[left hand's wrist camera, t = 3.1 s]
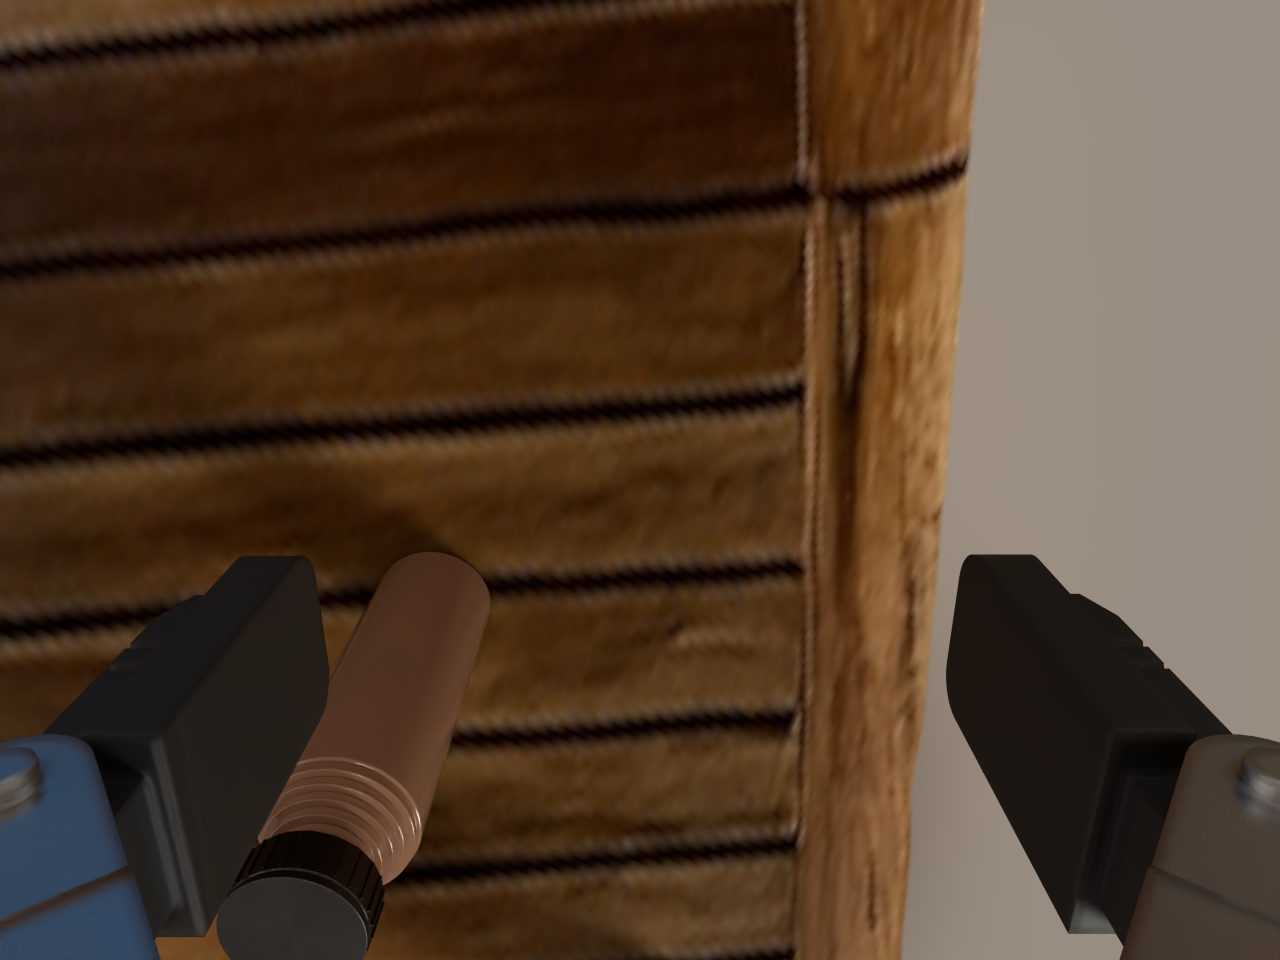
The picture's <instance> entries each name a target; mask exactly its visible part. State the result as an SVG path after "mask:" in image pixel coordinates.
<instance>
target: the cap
mask: <svg viewBox="0 0 1280 960" xmlns="http://www.w3.org/2000/svg"><path fill="white" fill-rule="evenodd" d="M384 893H385V889H384V887H383V881H382V875H380V873H379V871H378V869H377V867H376V865H375V863H374V862H373V861H372V860H371V859H370V858H369V857H368V856H367V855H366V854H365V853H364V852H363V851H362V850H361V849H360V848H359V847H358V846H356V845H354V844H352V843H350V842H349V841H347V840H345V839H343V838H341V837H339V836H336V835H332V834H328V833H324V832H318V831H314V830H300V831H298V830H297V831H288V832H284V833H279V834H278V835H275V836H273V837H270V838H268V839H264V840H263V841H262V843H261V844H259V845H258V846H257V847H255V848H252V849H251V851H250V853H249V855H248V857H247V858H246V860H245V862H244V864H243V866H242V868H241V870H240V872H239V873H238V875H237V877H236V879H235V881H234V883H233V885H232V886H231V888H230V890H229V892H228V894H227V896H226V898H225V900H224V901H223V903H222V905H221V907H220V910H219V912H218V916H217V924H216V928H217V935H218V938H219V942H220V944H221V946H222V948H223V950H224V951H225V953H226V954H227V955H228V957H229V958H230V959H231V960H363V958H364V957H365V954H366V952H367V951H368V948H369V945H370V942H371V940H372V939H373V936H374V933H375V930H376V927H377V924H378V921H379V918H380V915H381V912H382V909H383V906H384V902H383V896H384Z"/></svg>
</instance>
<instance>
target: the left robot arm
mask: <svg viewBox="0 0 1280 960" xmlns="http://www.w3.org/2000/svg"><path fill="white" fill-rule="evenodd" d="M946 684H947V693H948V699H949V704H950V707H951V710H952V713H953V716H954V718H955V720H956V722H957V723H958V725H959V727H960V729H961V731H962V733H963V735H964V737H965V739H966V741H967V742H968V744H969V746H970V748H971V750H972V752H973V754H974V756H975V758H976V759H977V761H978V763H979V765H980V767H981V769H982V771H983V773H984V775H985V776H986V778H987V780H988V782H989V784H990V786H991V788H992V790H993V792H994V794H995V796H996V797H997V799H998V801H999V803H1000V805H1001V807H1002V809H1003V811H1004V812H1005V814H1006V816H1007V818H1008V820H1009V822H1010V824H1011V826H1012V828H1013V829H1014V831H1015V833H1016V835H1017V837H1018V839H1019V841H1020V843H1021V845H1022V847H1023V848H1024V850H1025V852H1026V854H1027V856H1028V858H1029V860H1030V862H1031V864H1032V866H1033V867H1034V869H1035V871H1036V873H1037V875H1038V877H1039V879H1040V881H1041V883H1042V885H1043V886H1044V888H1045V890H1046V892H1047V894H1048V896H1049V898H1050V900H1051V901H1052V903H1053V905H1054V907H1055V909H1056V911H1057V913H1058V915H1059V917H1060V919H1061V920H1062V922H1063V924H1064V926H1065V928H1066V930H1067V932H1068V934H1116V935H1117V936H1118V938H1119V940H1120V941H1121V943H1122V945H1123V950H1122V954H1121V957H1120V960H1280V743H1279V742H1275V741H1272V740H1269V739H1264V738H1259V737H1254V736H1247V735H1237V734H1232V733H1231V732H1230V731H1229V730H1228V729H1227V728H1226V727H1225V726H1224V725H1223V724H1222V723H1221V722H1220V721H1219V719H1218V718H1217V717H1216V716H1215V715H1214V714H1213V713H1212V712H1211V711H1210V710H1209V709H1208V708H1207V707H1206V706H1205V705H1204V704H1203V703H1202V702H1201V701H1200V700H1199V699H1198V698H1197V697H1196V696H1195V695H1194V694H1193V693H1192V692H1191V691H1190V690H1189V689H1188V687H1187V686H1186V685H1185V684H1184V683H1183V682H1182V681H1181V680H1180V679H1179V678H1178V677H1177V676H1176V675H1175V674H1174V673H1173V672H1172V671H1171V670H1170V669H1164V663H1163V662H1162V661H1161V660H1160V659H1159V658H1158V657H1157V656H1156V654H1155V653H1154V652H1153V651H1152V650H1151V649H1150V648H1149V647H1143V641H1142V640H1141V639H1140V638H1139V637H1138V636H1137V635H1136V634H1135V633H1134V632H1133V631H1132V630H1131V629H1130V628H1129V627H1128V626H1127V625H1126V624H1125V622H1124V621H1123V620H1122V619H1121V618H1120V617H1119V616H1117V615H1116V614H1114V613H1112V612H1110V611H1109V610H1107V609H1105V608H1103V607H1102V606H1100V605H1098V604H1096V603H1095V602H1093V601H1091V600H1089V599H1088V598H1086V597H1084V596H1082V595H1081V594H1070V593H1069V592H1068V591H1067V590H1066V589H1065V588H1064V587H1063V585H1062V584H1061V583H1060V582H1059V581H1058V580H1057V579H1056V578H1055V577H1054V576H1053V574H1052V573H1051V572H1050V571H1049V570H1048V569H1047V568H1046V567H1045V566H1044V565H1043V563H1042V562H1041V561H1040V560H1039V559H1038V558H1037V557H1036V556H1034V555H969V556H968V557H967V558H966V559H965V560H964V562H963V565H962V568H961V571H960V576H959V583H958V590H957V597H956V604H955V611H954V617H953V624H952V631H951V638H950V645H949V652H948V659H947V667H946ZM328 690H329V665H328V658H327V651H326V644H325V638H324V631H323V624H322V617H321V611H320V604H319V597H318V590H317V584H316V577H315V572H314V569H313V566H312V564H311V562H310V560H309V559H308V558H307V557H305V556H242V557H240V558H238V559H237V560H236V561H235V562H234V563H233V564H232V565H231V567H230V568H229V569H228V570H227V571H226V572H225V573H224V574H223V575H222V576H221V577H220V578H219V580H218V581H217V582H216V583H215V584H214V585H213V586H212V587H211V588H210V589H209V590H208V591H207V593H206V594H205V595H195V596H193V597H191V598H189V599H188V600H186V601H184V602H182V603H181V604H179V605H177V606H175V607H174V608H172V609H170V610H168V611H167V612H165V613H163V614H161V615H159V616H158V617H156V618H155V619H154V620H153V621H152V622H151V623H150V624H149V625H148V626H147V627H146V628H145V629H144V630H143V631H142V632H141V633H140V634H139V635H138V636H137V637H136V638H135V639H134V640H133V641H132V642H131V647H130V649H125V650H124V651H123V652H122V653H121V654H120V655H119V656H118V657H117V658H116V659H115V660H114V661H113V662H112V663H111V664H110V668H109V671H103V672H102V673H101V674H100V675H99V676H98V677H97V678H96V679H95V680H94V681H93V682H92V683H91V684H90V685H89V686H88V688H87V689H86V690H85V691H84V692H83V693H82V694H81V695H80V696H79V697H78V698H77V699H76V700H75V701H74V702H73V703H72V704H71V705H70V706H69V707H68V708H67V709H66V710H65V711H64V712H63V713H62V714H61V715H60V716H59V717H58V718H57V719H56V720H55V721H54V722H53V723H52V724H51V725H50V726H49V727H48V728H47V729H46V730H45V732H44V733H43V734H42V735H33V736H26V737H21V738H16V739H11V740H8V741H4V742H1V743H0V960H160V957H159V953H158V950H157V947H156V944H155V941H154V940H155V939H156V937H205V935H206V933H207V931H208V930H209V928H210V926H211V924H212V922H213V920H214V918H215V916H216V915H217V913H218V911H219V909H220V907H221V905H222V903H223V901H224V900H225V898H226V896H227V894H228V892H229V890H230V888H231V886H232V885H233V883H234V881H235V879H236V877H237V875H238V873H239V872H240V870H241V868H242V866H243V864H244V862H245V860H246V858H247V857H248V855H249V853H250V851H251V849H252V847H253V845H254V843H255V842H256V840H257V838H258V836H259V834H260V832H261V830H262V828H263V827H264V825H265V823H266V821H267V819H268V817H269V815H270V814H271V812H272V810H273V808H274V806H275V804H276V802H277V800H278V799H279V797H280V795H281V793H282V791H283V789H284V787H285V785H286V784H287V782H288V780H289V778H290V776H291V774H292V772H293V771H294V769H295V767H296V765H297V763H298V761H299V759H300V757H301V756H302V754H303V752H304V750H305V748H306V746H307V744H308V742H309V741H310V739H311V737H312V735H313V733H314V731H315V729H316V727H317V726H318V724H319V722H320V720H321V718H322V716H323V713H324V710H325V706H326V702H327V697H328Z"/></svg>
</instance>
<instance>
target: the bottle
mask: <svg viewBox="0 0 1280 960" xmlns="http://www.w3.org/2000/svg"><path fill="white" fill-rule="evenodd" d="M490 609H491V602H490V595H489V592H488V589H487V587H486V584H485V583H484V581H483V579H482V578H481V576H480V575H479V574H478V573H477V571H475V570H474V569H473V568H472V567H471V566H470V565H469V564H467V563H466V562H464V561H463V560H461V559H459V558H457V557H454V556H452V555H449V554H445V553H440V552H420V553H415V554H412V555H409V556H406V557H404V558H402V559H400V560H399V561H397V562H396V563H395V564H393V565H392V566H391V567H390V568H389V569H388V570H387V572H386V573H385V575H384V576H383V578H382V580H381V582H380V583H379V585H378V587H377V589H376V590H375V592H374V594H373V596H372V597H371V599H370V601H369V603H368V605H367V606H366V608H365V610H364V612H363V613H362V615H361V617H360V619H359V620H358V622H357V624H356V626H355V628H354V629H353V631H352V633H351V635H350V636H349V638H348V640H347V642H346V644H345V645H344V647H343V649H342V651H341V652H340V654H339V656H338V658H337V659H336V661H335V663H334V665H333V667H332V668H331V670H330V672H329V690H328V697H327V702H326V706H325V710H324V713H323V716H322V718H321V720H320V722H319V724H318V726H317V727H316V729H315V731H314V733H313V735H312V737H311V739H310V741H309V742H308V744H307V746H306V748H305V750H304V752H303V754H302V756H301V757H300V759H299V761H298V763H297V765H296V767H295V769H294V771H293V772H292V774H291V776H290V778H289V780H288V782H287V784H286V785H285V787H284V789H283V791H282V793H281V795H280V797H279V799H278V800H277V802H276V804H275V806H274V808H273V810H272V812H271V814H270V815H269V817H268V819H267V821H266V823H265V825H264V827H263V828H262V830H261V832H260V834H259V836H258V840H259V843H260V844H261V843H262V841H263V840H264V839H268V838H270V837H273V836H275V835H278V834H279V833H284V832H288V831H297V830H298V831H300V830H314V831H318V832H324V833H328V834H332V835H336V836H339V837H341V838H343V839H345V840H347V841H349V842H350V843H352V844H354V845H356V846H358V847H359V848H360V849H361V850H362V851H363V852H364V853H365V854H366V855H367V856H368V857H369V858H370V859H371V860H372V861H373V862H374V863H375V865H376V867H377V869H378V871H379V873H380V875H382V881H383V885H384V884H386V883H388V882H390V881H391V880H393V879H394V878H395V877H397V876H398V875H399V874H400V873H401V872H402V871H403V870H404V868H405V867H406V866H407V865H408V863H409V862H410V860H411V859H412V858H413V857H414V855H415V853H416V851H417V850H418V847H419V845H420V842H421V839H422V835H423V832H424V829H425V825H426V822H427V819H428V816H429V812H430V809H431V806H432V802H433V799H434V796H435V793H436V789H437V786H438V783H439V780H440V776H441V773H442V770H443V766H444V763H445V760H446V757H447V753H448V750H449V747H450V743H451V740H452V737H453V734H454V730H455V727H456V724H457V720H458V717H459V714H460V711H461V707H462V704H463V701H464V698H465V694H466V691H467V688H468V684H469V681H470V678H471V675H472V671H473V668H474V665H475V661H476V658H477V655H478V652H479V648H480V645H481V642H482V638H483V635H484V632H485V629H486V625H487V622H488V619H489V615H490Z"/></svg>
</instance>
